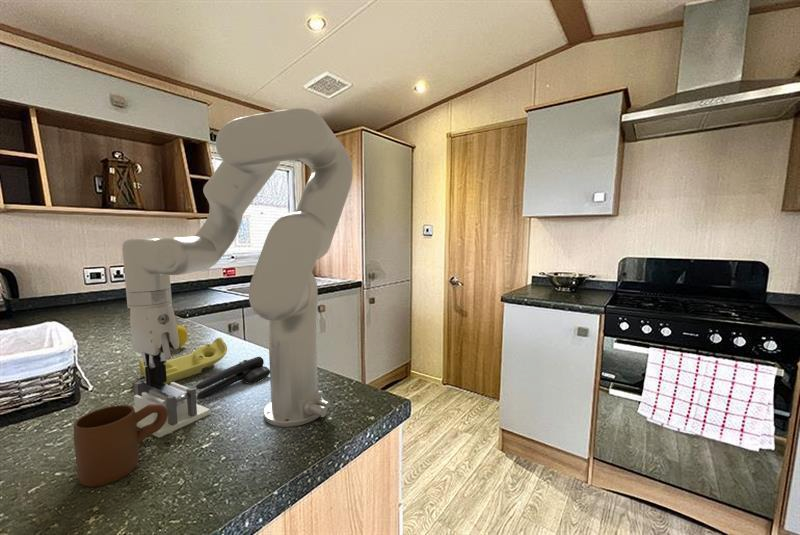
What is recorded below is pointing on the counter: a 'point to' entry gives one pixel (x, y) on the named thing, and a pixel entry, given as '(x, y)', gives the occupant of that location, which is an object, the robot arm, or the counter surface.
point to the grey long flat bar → (169, 391)
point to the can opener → (234, 376)
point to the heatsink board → (168, 407)
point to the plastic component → (192, 361)
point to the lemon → (182, 335)
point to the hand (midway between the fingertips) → (156, 383)
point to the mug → (112, 441)
